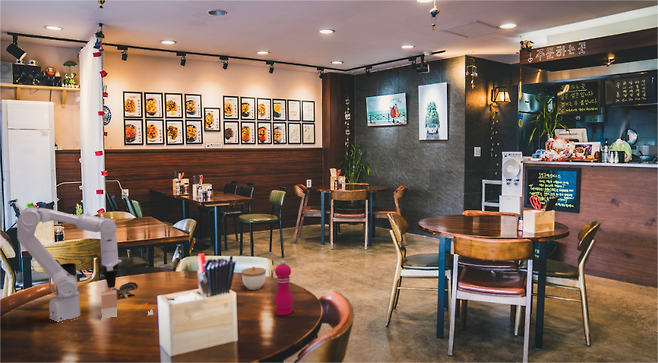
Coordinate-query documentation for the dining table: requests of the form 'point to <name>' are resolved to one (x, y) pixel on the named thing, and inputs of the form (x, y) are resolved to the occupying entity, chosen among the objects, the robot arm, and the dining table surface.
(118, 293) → the squirrel figurine
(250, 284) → the lidded jar
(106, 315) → the cream base brick
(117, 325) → the dining table surface
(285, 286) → the pepper mill
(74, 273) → the glass holder
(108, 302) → the pink cube
